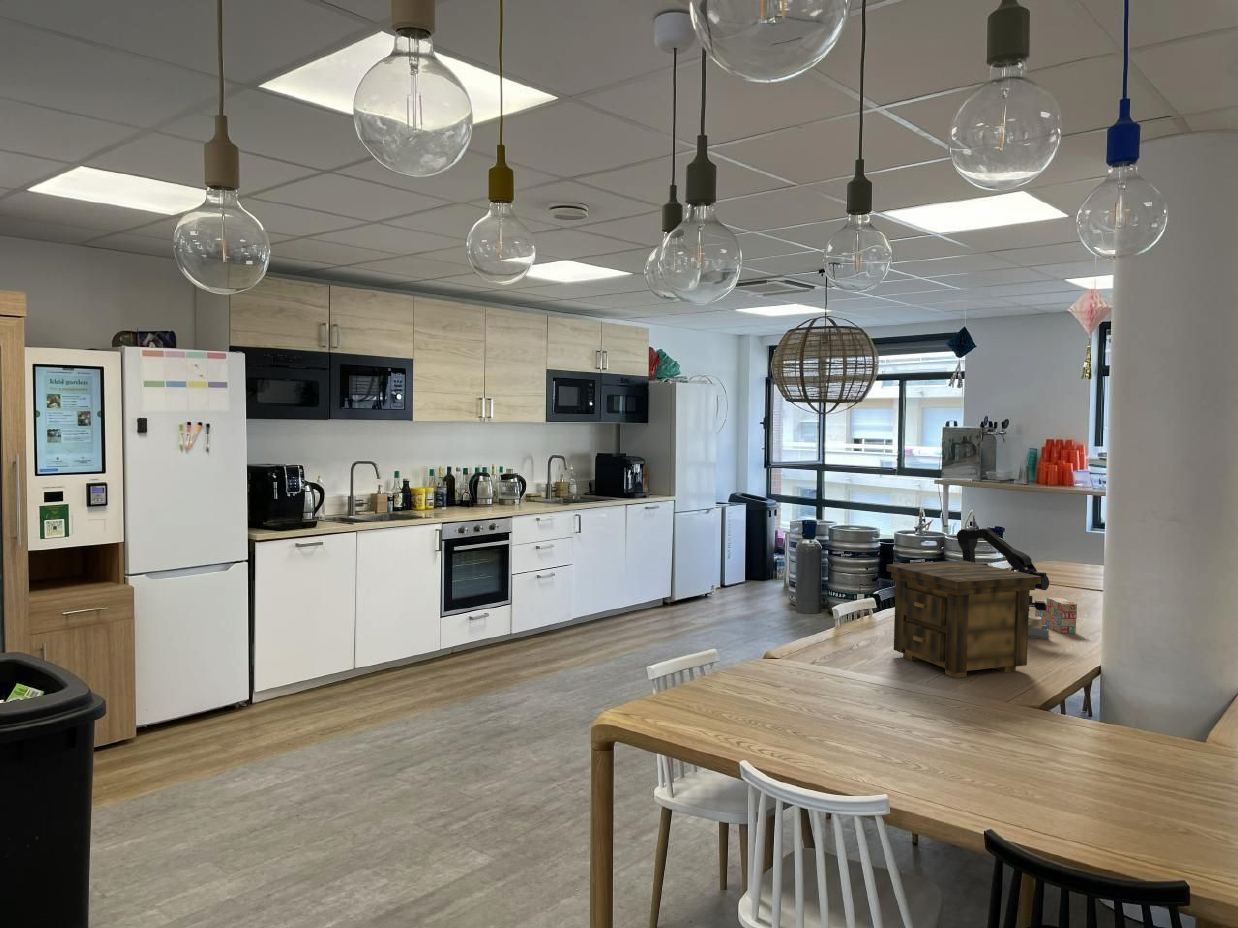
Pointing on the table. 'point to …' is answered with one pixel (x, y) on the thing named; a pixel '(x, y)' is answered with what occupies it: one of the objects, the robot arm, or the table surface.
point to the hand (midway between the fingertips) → (1018, 624)
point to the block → (1035, 622)
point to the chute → (1038, 632)
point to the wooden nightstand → (962, 615)
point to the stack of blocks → (1059, 615)
